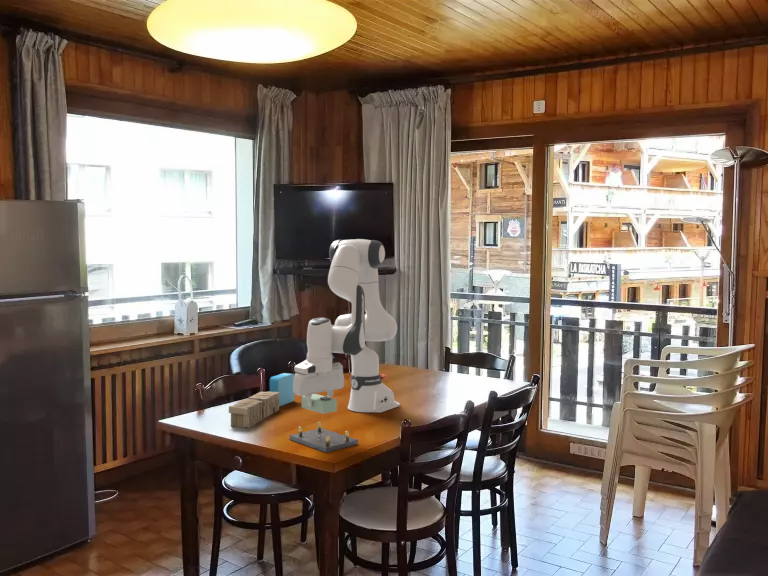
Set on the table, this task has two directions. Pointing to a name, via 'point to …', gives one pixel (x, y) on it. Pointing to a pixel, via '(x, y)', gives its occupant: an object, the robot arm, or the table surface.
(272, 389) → the data package
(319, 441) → the plate
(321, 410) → the pale green block
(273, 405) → the block tower
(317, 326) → the robot arm
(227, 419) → the table surface
